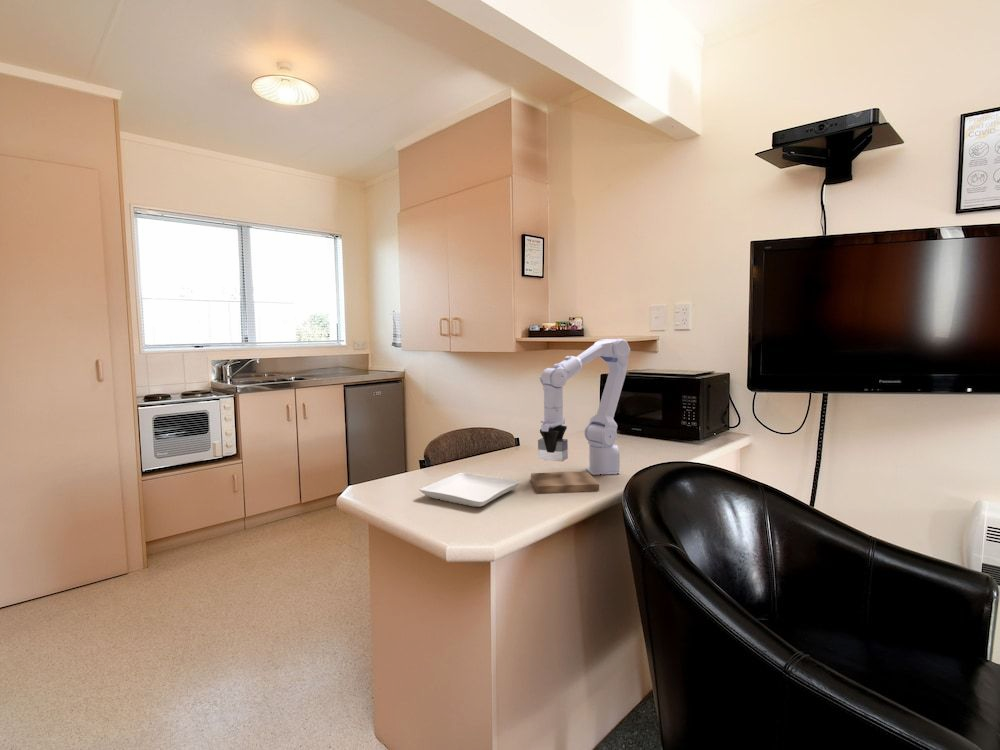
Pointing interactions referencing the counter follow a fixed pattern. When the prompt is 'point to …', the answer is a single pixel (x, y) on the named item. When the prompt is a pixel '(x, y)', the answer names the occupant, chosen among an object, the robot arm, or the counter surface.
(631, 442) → the counter surface
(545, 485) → the walnut board
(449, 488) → the salad plate
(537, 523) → the counter surface
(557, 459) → the housing
